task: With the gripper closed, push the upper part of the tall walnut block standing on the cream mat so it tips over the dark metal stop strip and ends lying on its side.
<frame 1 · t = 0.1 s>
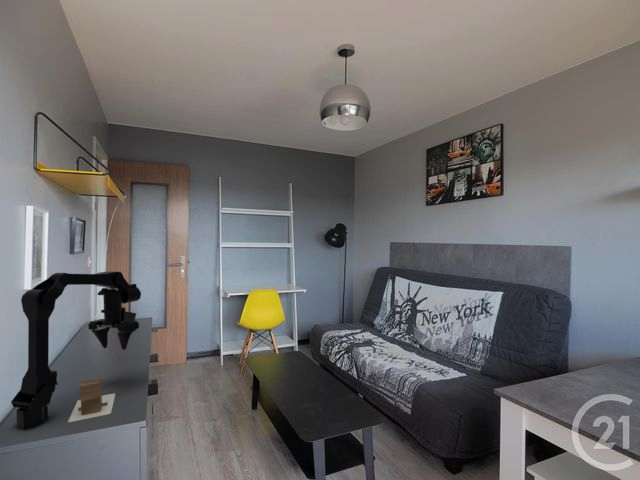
hand: (114, 348, 134), 14 cm above the table, tool pointing down, fingers open, 9 cm apart
walnut block: (92, 411, 114), point 1 cm above the table, touching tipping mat
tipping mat: (92, 413, 114), on the table
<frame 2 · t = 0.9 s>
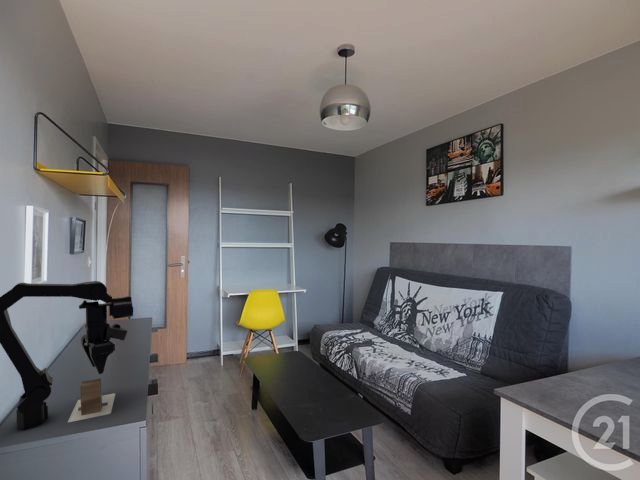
hand: (97, 370, 117), 13 cm above the table, tool pointing down, fingers open, 9 cm apart
nothing on the table moved.
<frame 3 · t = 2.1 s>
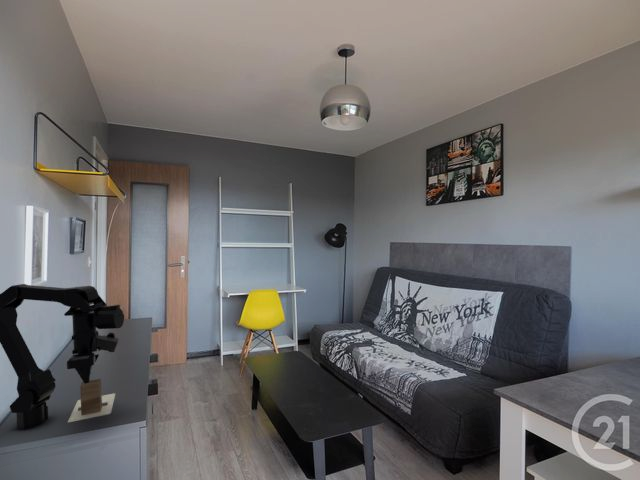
hand: (86, 382, 108), 12 cm above the table, tool pointing down, fingers closed
nothing on the table moved.
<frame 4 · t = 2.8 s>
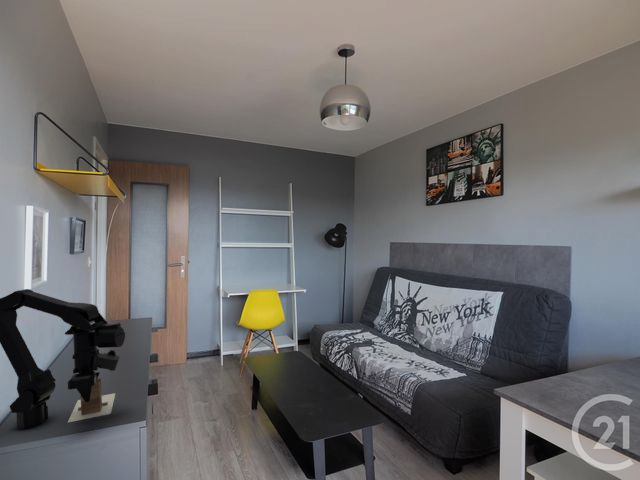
hand: (87, 401, 108), 7 cm above the table, tool pointing down, fingers closed
nothing on the table moved.
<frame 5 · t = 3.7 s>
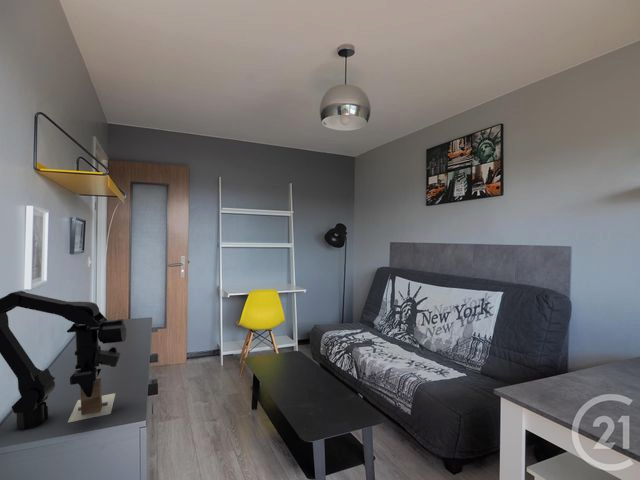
hand: (89, 396, 111), 7 cm above the table, tool pointing down, fingers closed
walnut block: (92, 410, 114), point 1 cm above the table, touching gripper, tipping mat
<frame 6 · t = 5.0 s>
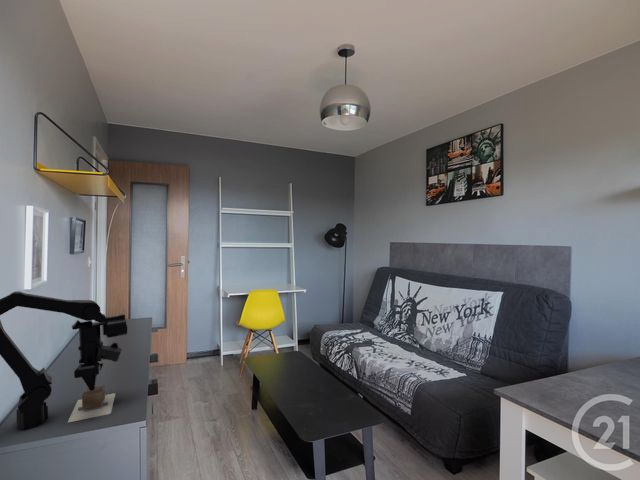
hand: (92, 389, 116), 7 cm above the table, tool pointing down, fingers closed
walnut block: (91, 400, 115), point 4 cm above the table, tilted 97°, touching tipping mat
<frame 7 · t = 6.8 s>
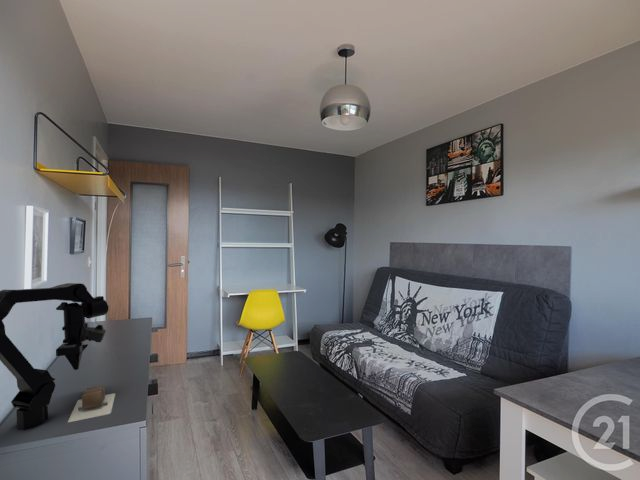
hand: (76, 369, 120), 12 cm above the table, tool pointing down, fingers closed
nothing on the table moved.
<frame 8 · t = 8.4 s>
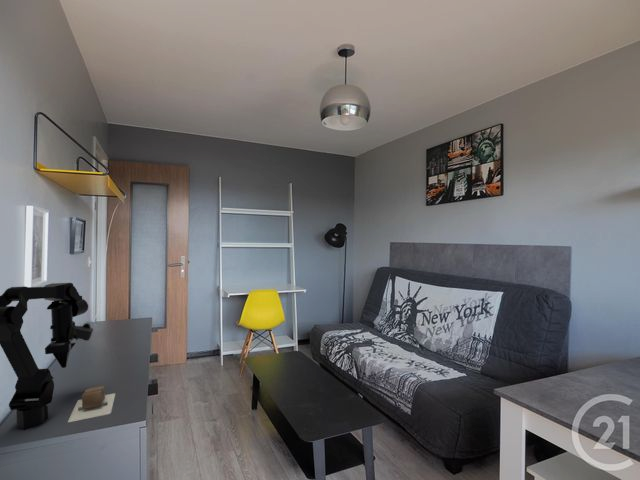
hand: (64, 367, 123), 12 cm above the table, tool pointing down, fingers closed
nothing on the table moved.
at the end: walnut block tilted 97°; walnut block inside the target area on the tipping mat (2.2 cm from its centre), point 3.9 cm above the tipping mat's base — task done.
